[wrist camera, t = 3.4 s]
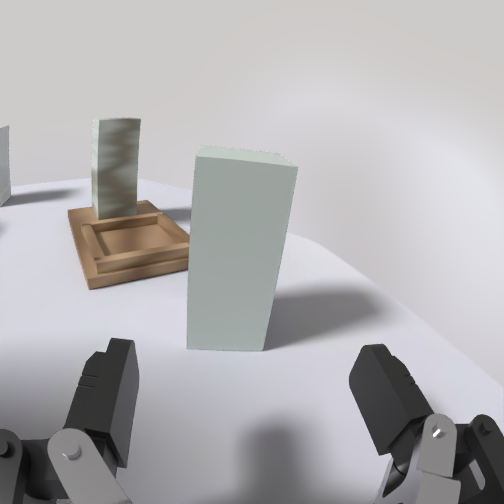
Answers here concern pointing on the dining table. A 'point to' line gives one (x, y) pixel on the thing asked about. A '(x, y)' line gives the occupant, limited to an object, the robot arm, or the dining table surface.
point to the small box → (4, 165)
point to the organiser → (123, 215)
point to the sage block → (236, 245)
